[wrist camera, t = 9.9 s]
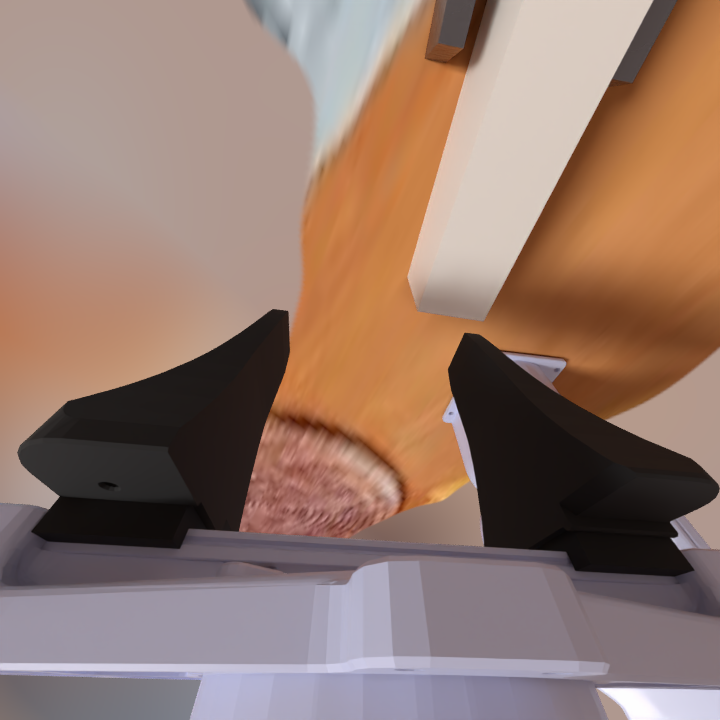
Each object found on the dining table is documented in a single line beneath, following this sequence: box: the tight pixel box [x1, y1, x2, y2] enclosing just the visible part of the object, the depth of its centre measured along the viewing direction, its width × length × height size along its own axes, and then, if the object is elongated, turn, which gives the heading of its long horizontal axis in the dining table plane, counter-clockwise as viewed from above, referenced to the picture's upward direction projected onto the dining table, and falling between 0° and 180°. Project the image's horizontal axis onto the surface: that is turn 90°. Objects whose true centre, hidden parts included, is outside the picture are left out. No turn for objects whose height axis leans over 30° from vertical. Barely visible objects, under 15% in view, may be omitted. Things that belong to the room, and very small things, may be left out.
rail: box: [408, 0, 653, 321], centre depth 13 cm, size 16×4×5 cm, turn 171°
